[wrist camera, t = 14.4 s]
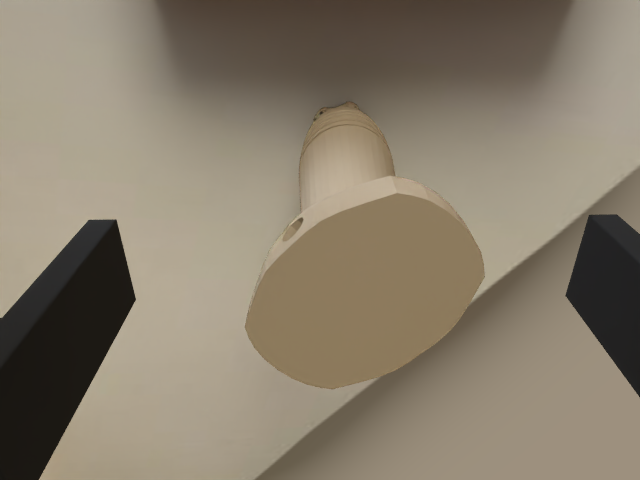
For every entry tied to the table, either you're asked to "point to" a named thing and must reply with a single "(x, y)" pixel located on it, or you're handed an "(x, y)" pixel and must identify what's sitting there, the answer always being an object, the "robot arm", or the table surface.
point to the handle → (360, 263)
